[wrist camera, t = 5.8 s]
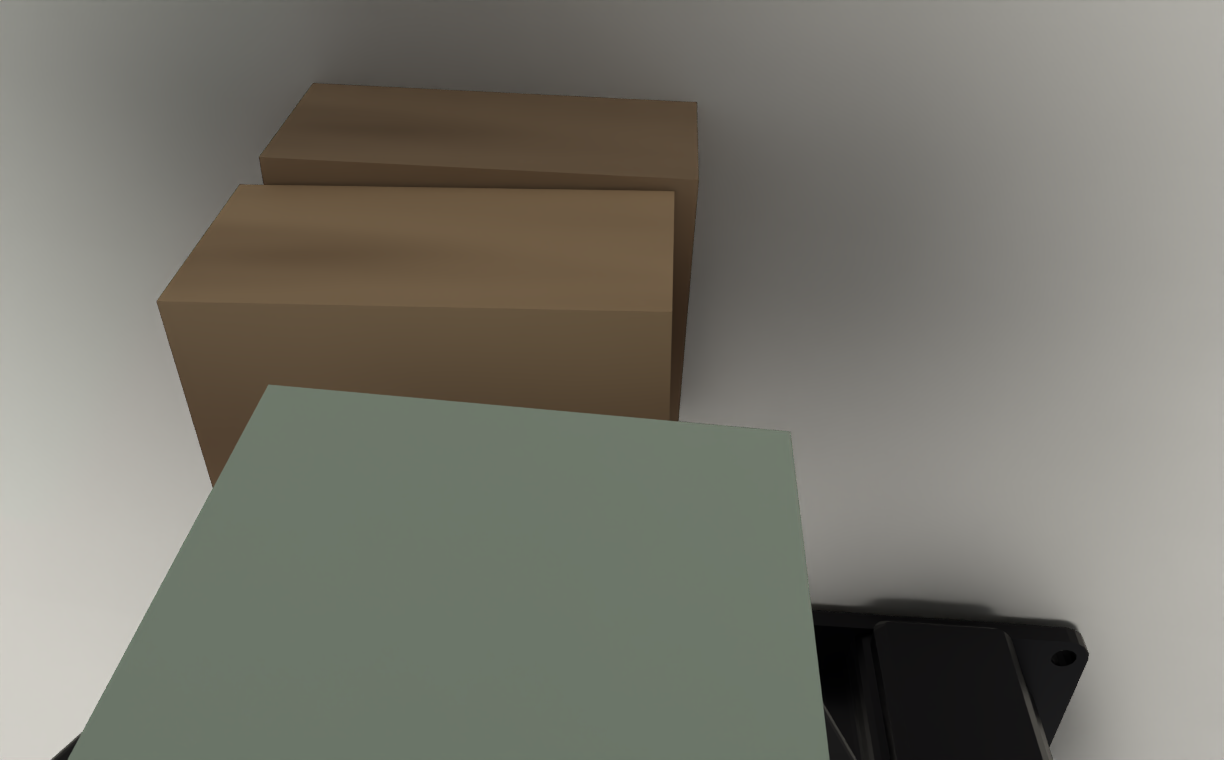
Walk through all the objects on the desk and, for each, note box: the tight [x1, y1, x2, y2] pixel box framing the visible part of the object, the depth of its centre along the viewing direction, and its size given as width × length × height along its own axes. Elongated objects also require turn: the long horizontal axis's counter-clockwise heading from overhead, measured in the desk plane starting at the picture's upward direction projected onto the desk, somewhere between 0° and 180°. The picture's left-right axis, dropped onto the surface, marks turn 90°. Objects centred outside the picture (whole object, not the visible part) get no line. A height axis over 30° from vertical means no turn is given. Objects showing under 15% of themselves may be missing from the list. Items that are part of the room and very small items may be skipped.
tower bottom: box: [259, 83, 699, 421], centre depth 18 cm, size 6×6×3 cm
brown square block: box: [157, 184, 675, 487], centre depth 16 cm, size 6×6×3 cm
